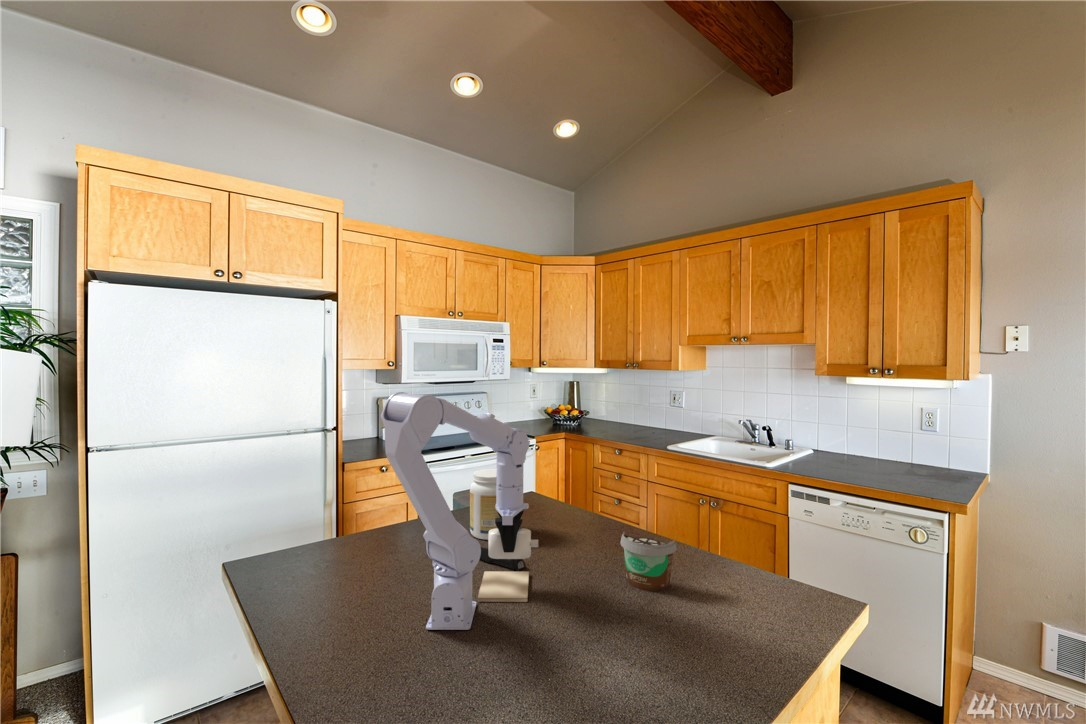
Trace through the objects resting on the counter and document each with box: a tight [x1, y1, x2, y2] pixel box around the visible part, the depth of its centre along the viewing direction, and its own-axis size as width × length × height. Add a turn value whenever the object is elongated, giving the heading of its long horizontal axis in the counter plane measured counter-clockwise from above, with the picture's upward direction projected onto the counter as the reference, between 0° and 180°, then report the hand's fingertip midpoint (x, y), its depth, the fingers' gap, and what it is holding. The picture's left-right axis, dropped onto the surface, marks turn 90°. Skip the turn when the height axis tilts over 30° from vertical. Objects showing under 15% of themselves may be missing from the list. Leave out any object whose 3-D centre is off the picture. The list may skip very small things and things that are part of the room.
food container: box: [620, 531, 678, 592], centre depth 105 cm, size 12×6×10 cm, turn 62°
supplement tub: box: [469, 468, 500, 541], centre depth 136 cm, size 12×12×17 cm
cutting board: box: [477, 570, 530, 603], centre depth 104 cm, size 12×10×1 cm
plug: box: [487, 527, 539, 560], centre depth 104 cm, size 11×4×5 cm, turn 90°
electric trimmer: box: [479, 546, 527, 571], centre depth 117 cm, size 4×16×3 cm, turn 56°
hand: (509, 547), depth 104 cm, fingers closed on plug, 4 cm apart
